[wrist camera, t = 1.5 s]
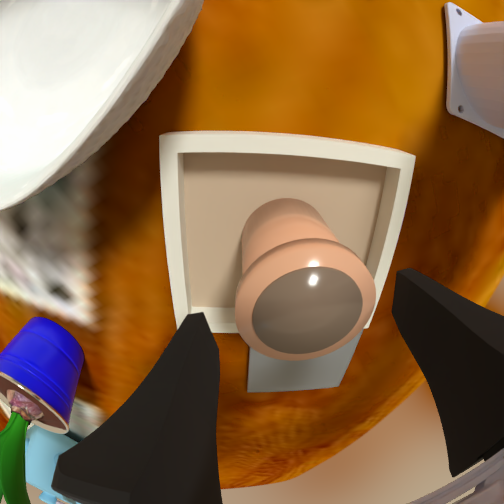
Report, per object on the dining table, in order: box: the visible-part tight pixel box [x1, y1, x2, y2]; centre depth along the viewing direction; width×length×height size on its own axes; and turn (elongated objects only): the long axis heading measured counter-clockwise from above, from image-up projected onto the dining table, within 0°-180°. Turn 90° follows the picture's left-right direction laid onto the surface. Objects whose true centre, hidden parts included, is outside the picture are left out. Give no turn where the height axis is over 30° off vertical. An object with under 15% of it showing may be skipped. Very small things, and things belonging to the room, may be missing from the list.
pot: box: [235, 198, 376, 361], centre depth 12 cm, size 5×5×6 cm
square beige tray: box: [159, 131, 416, 333], centre depth 15 cm, size 12×11×2 cm
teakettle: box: [25, 425, 82, 504], centre depth 25 cm, size 19×19×15 cm
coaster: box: [247, 328, 364, 392], centre depth 20 cm, size 8×8×1 cm
